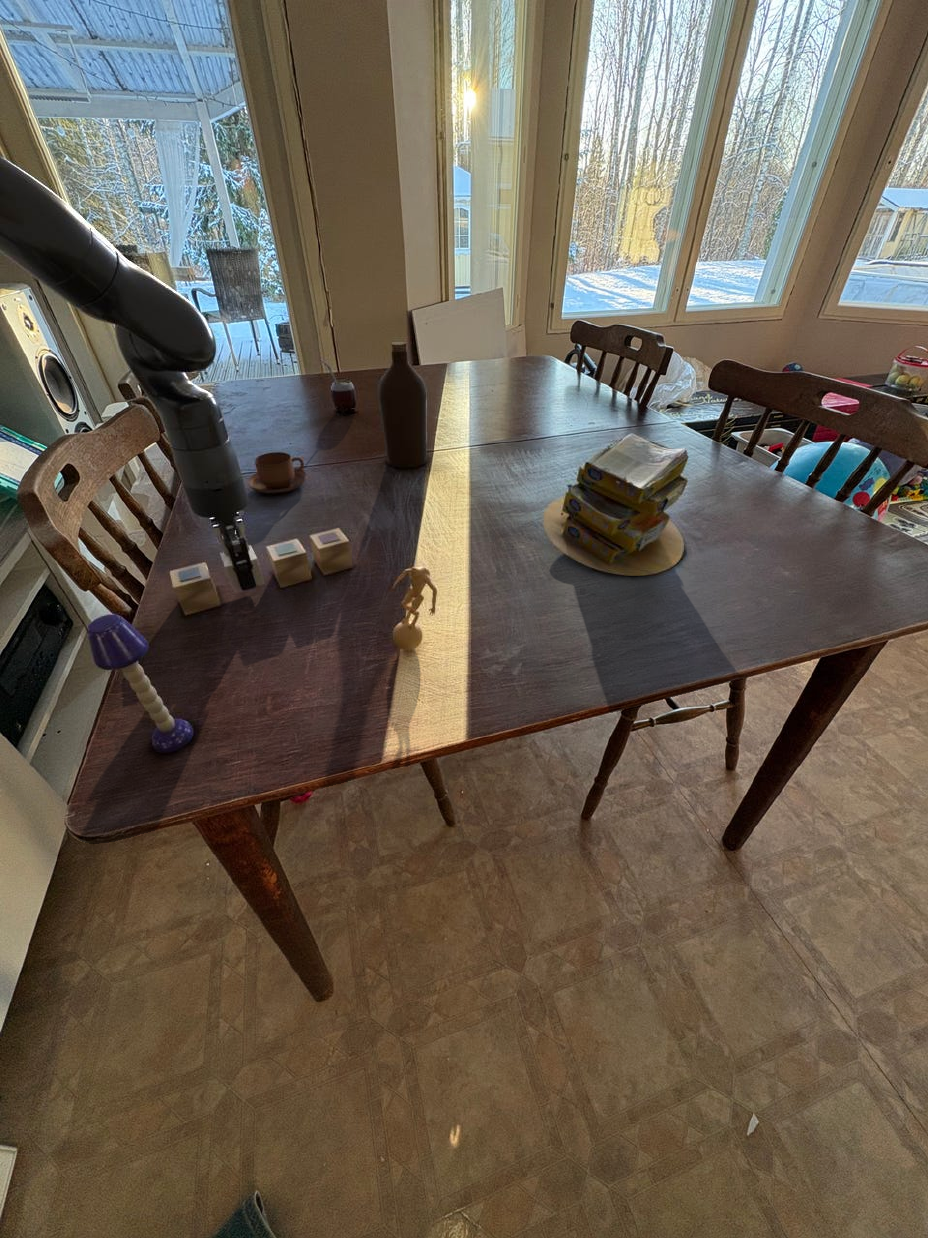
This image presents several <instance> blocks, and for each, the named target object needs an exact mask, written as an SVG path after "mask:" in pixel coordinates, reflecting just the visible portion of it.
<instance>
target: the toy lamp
mask: <svg viewBox="0 0 928 1238" xmlns="http://www.w3.org/2000/svg"><path fill="white" fill-rule="evenodd" d="M86 634H87V638H88V643H89V647H90V652H91V655H92V659H93V662H94V664H95V665H96V666H97V667H98V668H99V669H101V670H103V671H116V670H117V671H118V670H122V674H123V677H124V678H125V679H126V681H128V682H129V686H130V688H131V689H132V690H133V691H134V692H135V694H136V697H137V699H138V700H139V702H141V703H142V706H143V708H144V710H145V711H147V712H148V714H149V717H150V719H151V720H152V721H153V722H155V726H156V727H155V729H154V731H153V733H152V735H151V745H152V748H153V749H154V750H155V751H156V752H158V753H161V754H170V753H174V752H176V751H179V750H181V749H182V748H184V747H185V746H186V745H187V744H188V743H189V742H190V741H191V739H192V738H193V736H194V733H195V732H194V728H193V727H194V726H193V725H192V724H191V723H189V722H188V721H187V720H185V719H181V718H173V716H172V715H171V714H170V712H169V710H168V708H167V706H166V705H164V702H163V701H164V700H163V699H162V698H161V696H160V695H158V693H157V692H158V691H157V690H156V688H155V687H154V686H153V685H152V684H151V680H150V678H149V677H148V676H147V675H146V674H145V671H144V668H143V666H141V665H140V664H139V661H140V660H141V659H142V658H143V657H144V656H146V654H147V652H148V650H149V642H148V639H146V637H145V636H143V634H141V633H140V632H139V631H138V630H137V629H136V628H135V627H134V626H133V625H132V624H131V623H130V622H128V621H127V620H126V619H125V618H124V617H123V616H121V615H119V614H116V613H112V614H111V613H110V614H104V615H101V616H99V617H96V618H95V619H94V620H92V621H91V622H90V623H88V625H87V628H86Z"/></svg>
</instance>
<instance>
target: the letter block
mask: <svg viewBox="0 0 928 1238" xmlns="http://www.w3.org/2000/svg"><path fill="white" fill-rule="evenodd" d="M248 552H249V556H250V559H251V563H253V569H252V573H253V576H254V579H255V582H256V587H259V586H262V585H265V583H266V582H265V580H264V577H263V573H262V569H261V567H260V564H259V561H258V556H257V555H256V553H255V551H254V548H253V547H252V545H249V551H248ZM219 556H220V559H221V561H222V564H223V567H224V570H225V573H226V577H227V578H228V581H229V583H230V587H231V589H232V592H233V593H238V592H241V591H242V592H243V590H242V589H241V587H240V584H239V581H238V578H237V575H236V573H235V571H233V569H232V563H231V560H230V557H227V556H226V555H225V554H224V551H222V552H219Z"/></svg>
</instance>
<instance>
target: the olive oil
mask: <svg viewBox="0 0 928 1238" xmlns="http://www.w3.org/2000/svg"><path fill="white" fill-rule="evenodd" d="M390 346H391V351H390V353H391V360H392V361H391V365H390V366H389V367H388V368H387V370H386V371H385V373H384V374H383V375H382V377H381V379H380V381H379V382H378V388H377V397H378V403H379V404H378V405H379V410H380V416H381V417H380V418H381V423H382V424H381V425H382V431H383V437H384V443H385V444H384V445H385V452H386V460H387V463H388V464H389V465H390V466H391V467H394V468H399V469H413V468H418V467H421V466H423V465H425V464H426V463H427V462H428V393H427V387H426V384H425V381H424V379H423V378H422V376H421V375H420V374H419V373H418V372H417V371H416V370H415V368H413V367H412V366H411V364H410V363H409V357H408V356H409V354H408V353H409V352H408V350H407V347H408V346H407V342H405V341H393V342H391V343H390Z"/></svg>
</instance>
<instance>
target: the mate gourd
mask: <svg viewBox="0 0 928 1238" xmlns="http://www.w3.org/2000/svg"><path fill="white" fill-rule="evenodd" d="M318 360H319V361H321V362H322V363H323V364H324V365H325V366H326V367H327V369H328V371H329V373H330V375H331V378H332V379H333V381H334V382H332V384H331V387H330V395H331V399H332V402H333V405H334V407H335V410H334V411H335V412H336V413H341V416H345V415H346V414H347V413H357V409H356V407H357V392H356V389H355V386H354V384H353V383H352V382H351V381H350V380H336V377H335V375H334V373H333V370H332V367H331V366H330V365H329V364H328V363H327V362H326V361H324V360H323V359H321V358H319V359H318ZM336 407H337V408H336ZM351 408H355V409H351ZM346 409H347V410H346Z"/></svg>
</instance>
